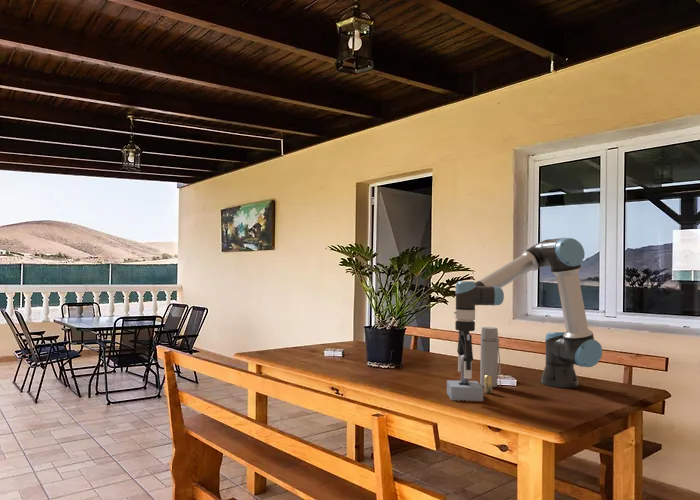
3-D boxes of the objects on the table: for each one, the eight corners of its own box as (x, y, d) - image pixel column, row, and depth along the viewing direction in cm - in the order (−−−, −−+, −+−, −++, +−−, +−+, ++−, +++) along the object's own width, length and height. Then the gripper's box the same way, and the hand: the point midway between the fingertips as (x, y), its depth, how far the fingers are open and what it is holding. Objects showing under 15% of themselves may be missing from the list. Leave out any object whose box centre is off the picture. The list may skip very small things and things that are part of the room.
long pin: (467, 396, 204) (467, 355, 205) (468, 397, 202) (469, 356, 202) (459, 395, 205) (460, 355, 205) (461, 397, 202) (461, 356, 202)
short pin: (491, 392, 212) (491, 374, 212) (492, 393, 209) (492, 376, 209) (483, 392, 212) (483, 374, 212) (485, 393, 209) (485, 376, 209)
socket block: (476, 393, 209) (476, 381, 209) (483, 401, 197) (483, 387, 197) (446, 392, 209) (446, 380, 210) (451, 400, 197) (451, 386, 198)
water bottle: (485, 388, 218) (486, 328, 219) (476, 384, 226) (477, 326, 227) (505, 387, 221) (505, 328, 222) (495, 383, 228) (495, 326, 229)
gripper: (450, 317, 217) (450, 368, 216) (461, 323, 192) (460, 381, 191) (468, 317, 217) (468, 369, 216) (481, 323, 192) (481, 381, 191)
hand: (464, 374), depth 203 cm, fingers open, 13 cm apart
